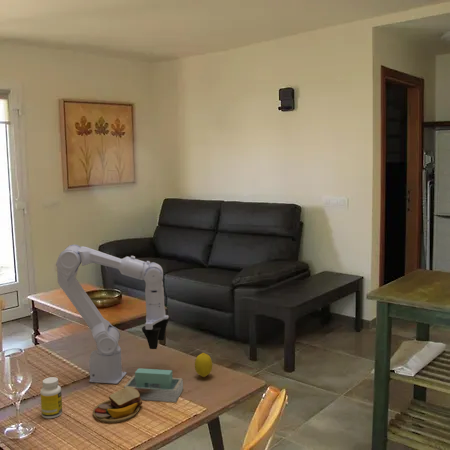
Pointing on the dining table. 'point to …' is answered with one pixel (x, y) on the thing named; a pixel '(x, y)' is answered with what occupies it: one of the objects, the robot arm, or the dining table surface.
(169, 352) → the dining table surface
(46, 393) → the supplement bottle
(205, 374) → the lemon
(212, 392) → the dining table surface
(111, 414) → the toy sandwich meal
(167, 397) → the cabinet frame
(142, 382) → the clip
